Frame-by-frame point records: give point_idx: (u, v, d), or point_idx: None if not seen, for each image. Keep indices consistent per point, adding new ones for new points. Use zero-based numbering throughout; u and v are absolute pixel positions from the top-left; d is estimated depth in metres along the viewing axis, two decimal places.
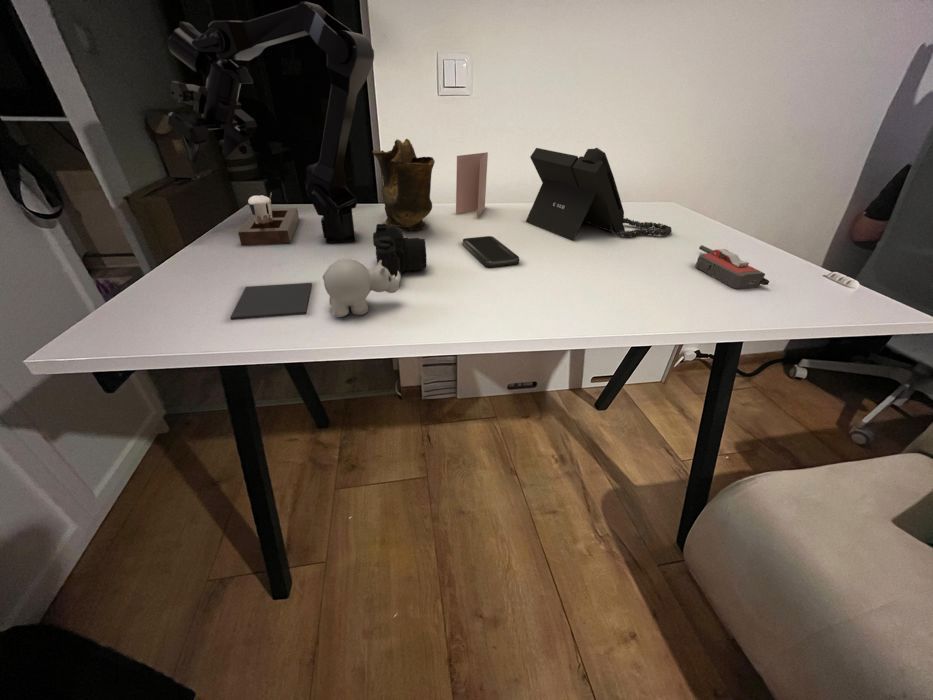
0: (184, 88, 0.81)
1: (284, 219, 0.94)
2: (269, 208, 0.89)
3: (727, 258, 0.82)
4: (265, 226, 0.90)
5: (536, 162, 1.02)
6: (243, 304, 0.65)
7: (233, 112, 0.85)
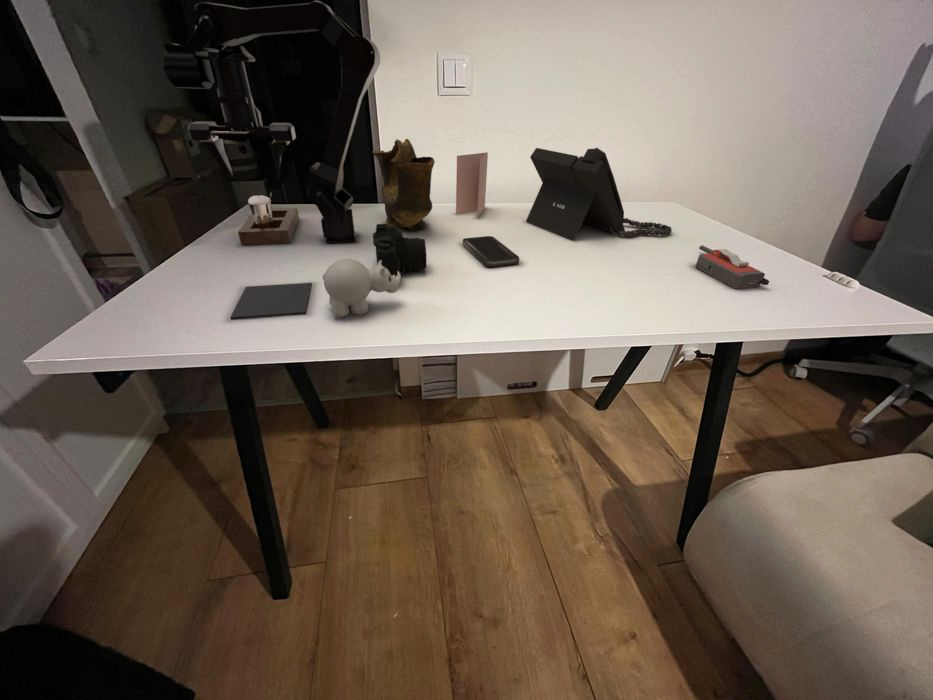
0: None
1: (284, 219, 0.94)
2: (269, 208, 0.89)
3: (727, 258, 0.82)
4: (265, 226, 0.90)
5: (536, 162, 1.02)
6: (243, 304, 0.65)
7: (238, 107, 0.76)
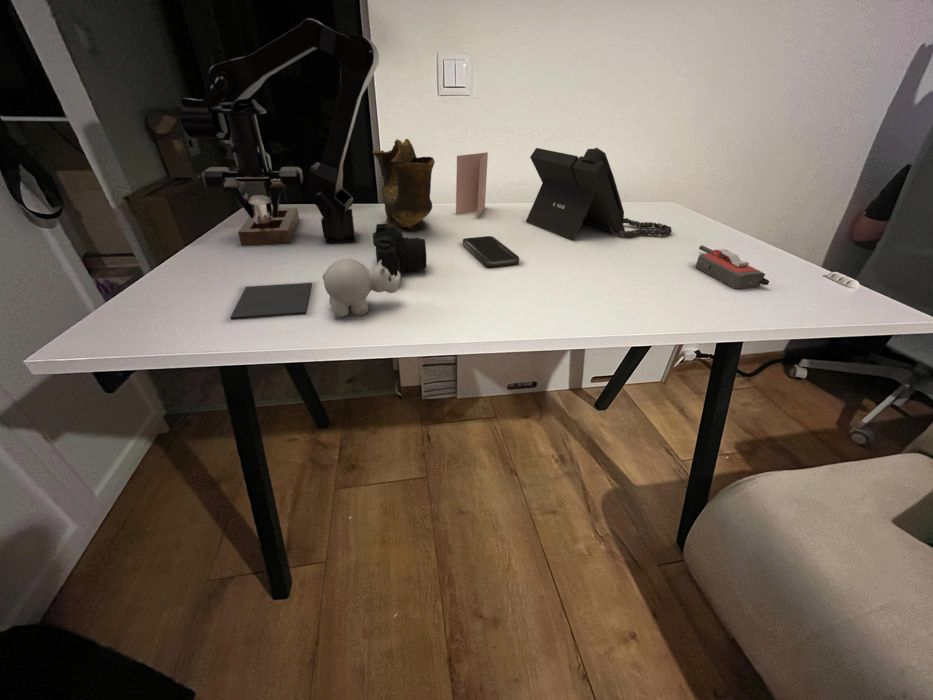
0: None
1: (284, 219, 0.94)
2: (269, 208, 0.89)
3: (727, 258, 0.82)
4: (265, 226, 0.90)
5: (536, 162, 1.02)
6: (243, 304, 0.65)
7: (249, 156, 0.81)
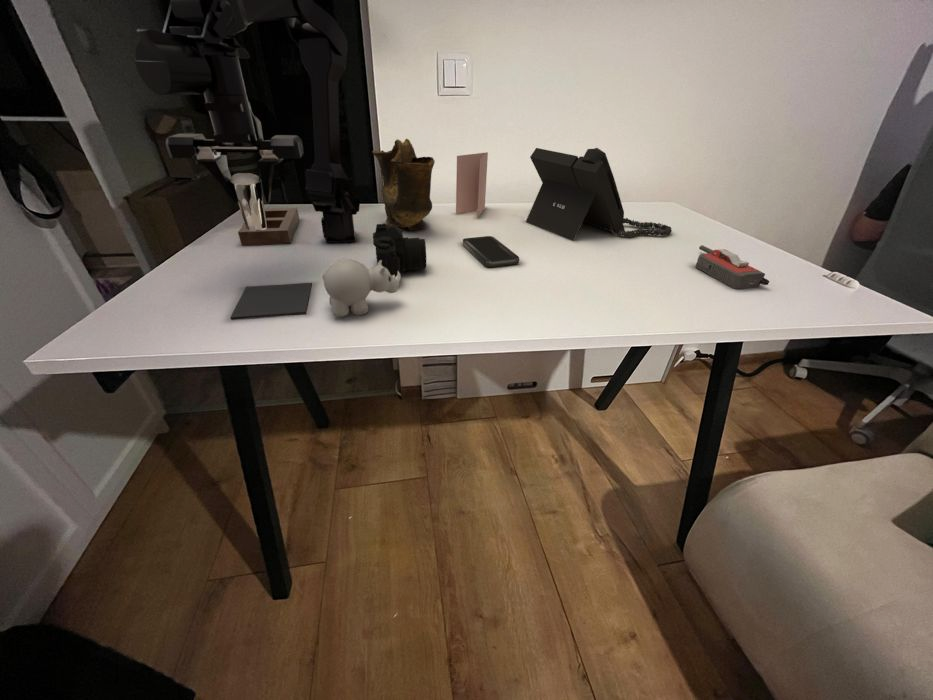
0: None
1: (284, 219, 0.94)
2: (258, 190, 0.67)
3: (727, 258, 0.82)
4: (253, 214, 0.68)
5: (536, 162, 1.02)
6: (243, 304, 0.65)
7: (230, 117, 0.59)
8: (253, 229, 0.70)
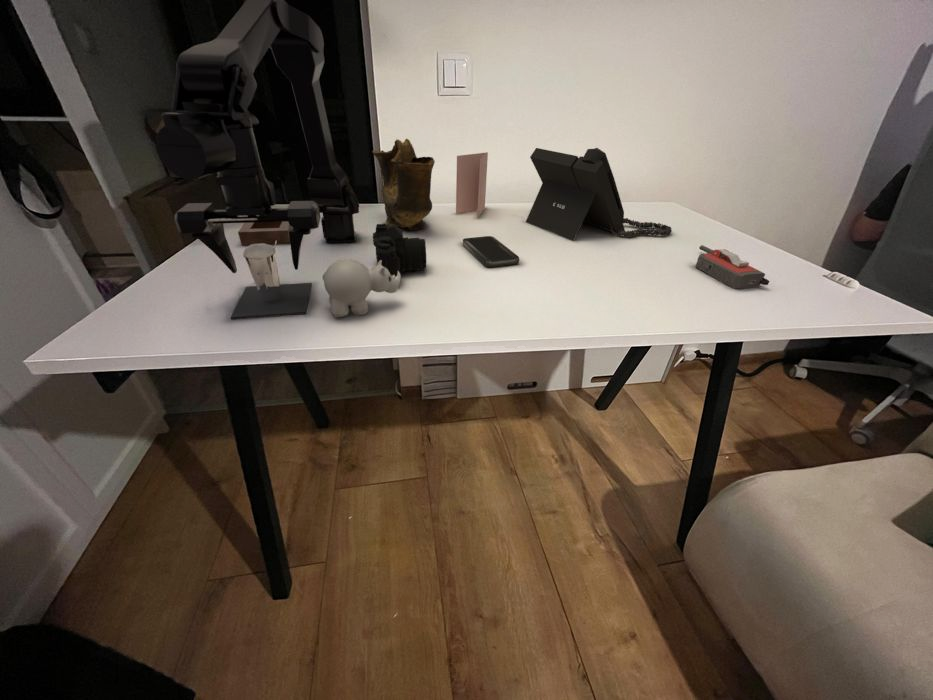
0: None
1: None
2: (273, 261, 0.63)
3: (727, 258, 0.82)
4: (268, 286, 0.64)
5: (536, 162, 1.02)
6: (243, 304, 0.65)
7: (244, 190, 0.55)
8: (268, 300, 0.66)
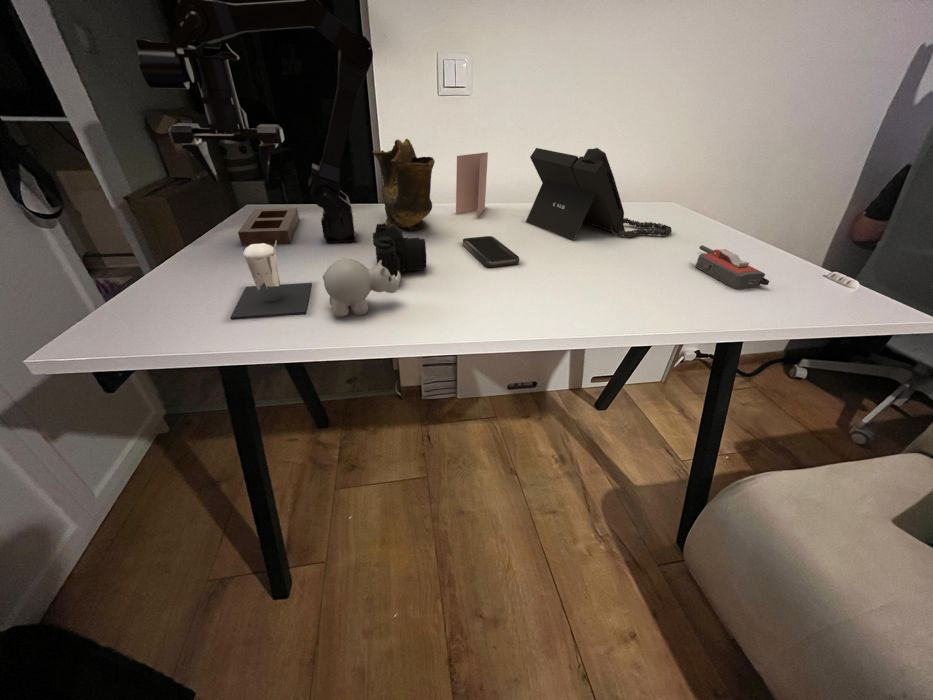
0: None
1: (284, 219, 0.94)
2: (273, 261, 0.63)
3: (727, 258, 0.82)
4: (268, 286, 0.64)
5: (536, 162, 1.02)
6: (243, 304, 0.65)
7: (222, 109, 0.72)
8: (268, 300, 0.66)
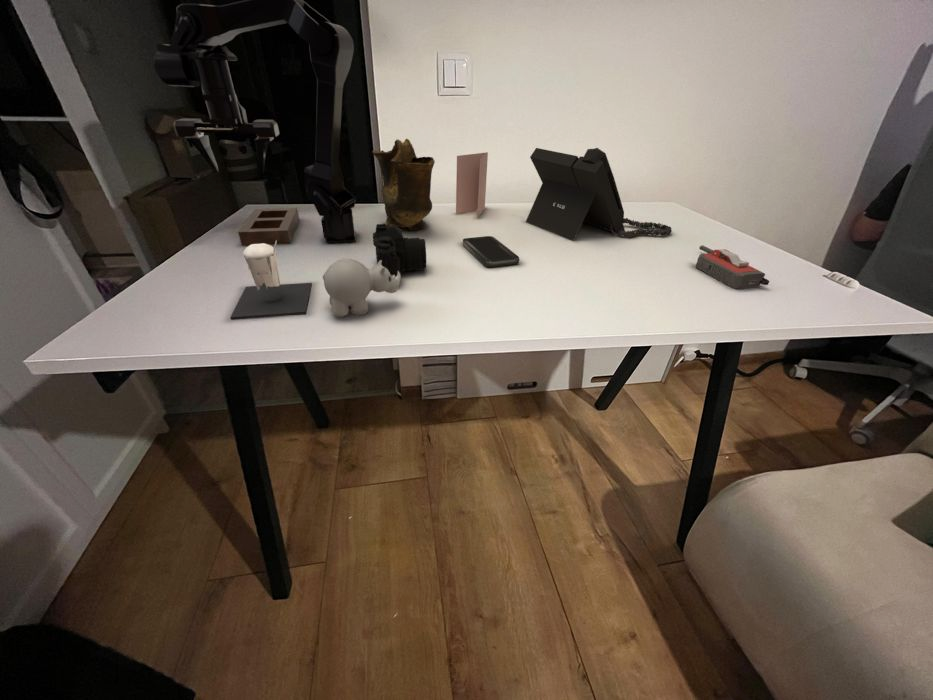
0: None
1: (284, 219, 0.94)
2: (273, 261, 0.63)
3: (727, 258, 0.82)
4: (268, 286, 0.64)
5: (536, 162, 1.02)
6: (243, 304, 0.65)
7: (221, 105, 0.79)
8: (268, 300, 0.66)
